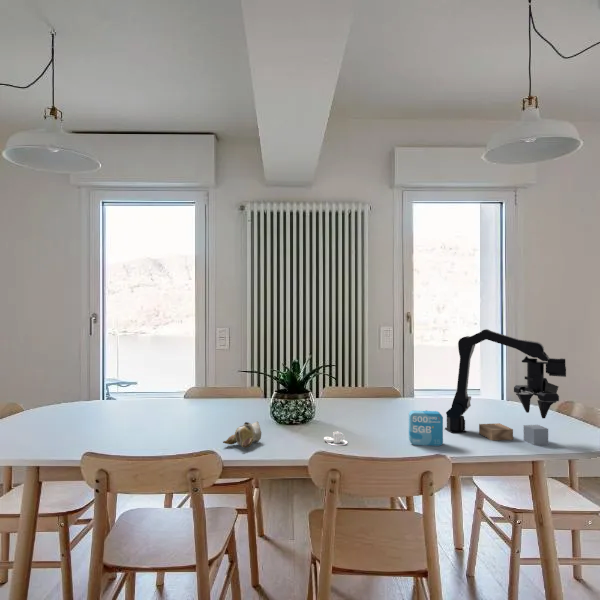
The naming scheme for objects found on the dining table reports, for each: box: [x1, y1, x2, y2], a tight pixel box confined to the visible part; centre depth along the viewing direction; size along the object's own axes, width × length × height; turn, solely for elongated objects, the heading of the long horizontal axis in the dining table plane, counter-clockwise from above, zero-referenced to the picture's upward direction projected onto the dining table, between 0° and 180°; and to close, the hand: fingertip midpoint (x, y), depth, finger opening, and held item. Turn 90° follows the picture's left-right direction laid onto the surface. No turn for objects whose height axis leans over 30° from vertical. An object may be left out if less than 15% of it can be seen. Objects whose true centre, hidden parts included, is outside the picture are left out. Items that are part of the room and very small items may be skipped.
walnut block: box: [478, 422, 514, 441], centre depth 179 cm, size 9×9×4 cm
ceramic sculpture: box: [222, 421, 262, 449], centre depth 167 cm, size 11×9×15 cm
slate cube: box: [523, 424, 549, 446], centre depth 172 cm, size 6×6×6 cm
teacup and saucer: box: [323, 431, 349, 446], centre depth 171 cm, size 9×8×4 cm
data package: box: [408, 410, 444, 447], centre depth 169 cm, size 12×4×12 cm, turn 84°
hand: (535, 415), depth 172 cm, fingers open, 9 cm apart
